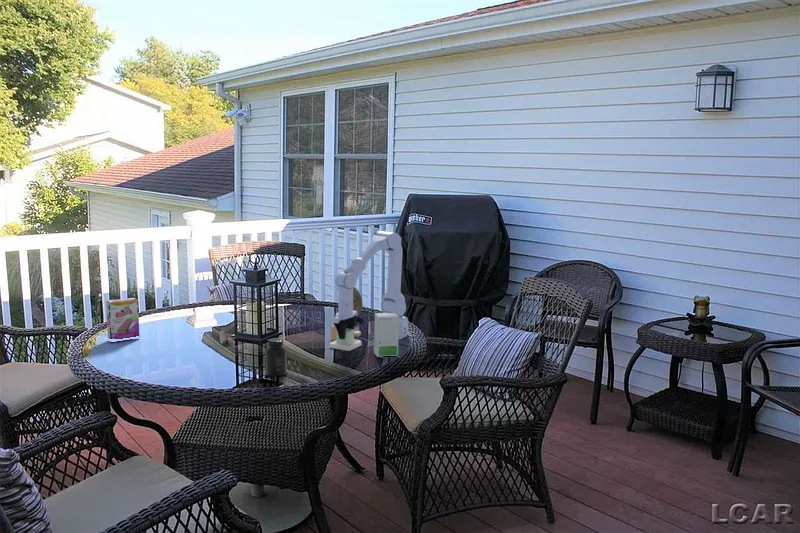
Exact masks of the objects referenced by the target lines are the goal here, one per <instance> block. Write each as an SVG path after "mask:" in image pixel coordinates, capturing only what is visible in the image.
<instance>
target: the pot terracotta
mask: <svg viewBox="0 0 800 533" xmlns="http://www.w3.org/2000/svg"><path fill="white" fill-rule="evenodd" d="M336 340H337V329H336V327H335V325H334V324H333V325H332V326H331V327H330V341H336Z"/></svg>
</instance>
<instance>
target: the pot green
mask: <svg viewBox="0 0 800 533" xmlns="http://www.w3.org/2000/svg"><path fill="white" fill-rule="evenodd" d="M354 331H355V328H354V329H348V328H346V333H345V339H339V336H338V332H337V344H341V345H347V346H349V345H351V344H353V343H354V340H355V337H354Z"/></svg>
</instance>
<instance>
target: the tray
mask: <svg viewBox="0 0 800 533" xmlns="http://www.w3.org/2000/svg"><path fill="white" fill-rule="evenodd" d="M360 346H362V340H357V339H354V343H353V344H351V345H349V346H347V345H341V344H337V340H333V341H331V342H329V348H330V349H335V350H341V351H346V352H347V351H348V352H351V351H352V350H354V349H356V348H358V347H360Z"/></svg>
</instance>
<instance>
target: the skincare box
mask: <svg viewBox="0 0 800 533" xmlns="http://www.w3.org/2000/svg"><path fill="white" fill-rule="evenodd" d="M373 333H374V338H373V354H374V355H375V356H376V358H378V357H380V358H383V357H382V356H393V355H398V356H399V340H400V339H399V316H398V315H397V314H395V313H384V312H377V313H374V332H373Z"/></svg>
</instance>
